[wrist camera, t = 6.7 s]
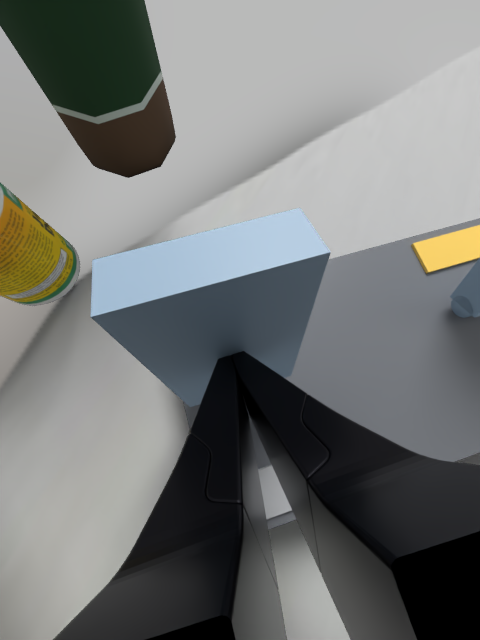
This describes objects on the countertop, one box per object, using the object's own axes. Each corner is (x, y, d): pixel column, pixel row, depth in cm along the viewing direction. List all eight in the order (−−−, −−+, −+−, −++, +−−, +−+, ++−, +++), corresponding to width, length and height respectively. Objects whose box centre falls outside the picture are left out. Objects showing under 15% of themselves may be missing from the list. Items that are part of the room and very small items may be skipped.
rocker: (289, 379, 13) (330, 251, 5) (193, 409, 12) (90, 316, 5) (278, 351, 13) (300, 207, 6) (187, 379, 13) (92, 259, 6)
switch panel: (538, 403, 16) (610, 407, 13) (221, 515, 14) (216, 551, 11) (446, 243, 19) (487, 214, 16) (173, 319, 17) (160, 304, 14)
